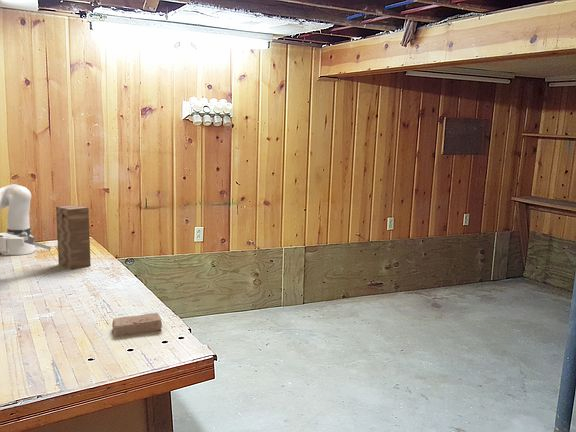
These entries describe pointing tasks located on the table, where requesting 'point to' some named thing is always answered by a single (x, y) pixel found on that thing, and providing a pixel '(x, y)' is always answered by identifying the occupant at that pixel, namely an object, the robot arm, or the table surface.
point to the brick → (136, 324)
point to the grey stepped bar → (31, 241)
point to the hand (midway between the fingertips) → (24, 237)
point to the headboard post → (73, 236)
